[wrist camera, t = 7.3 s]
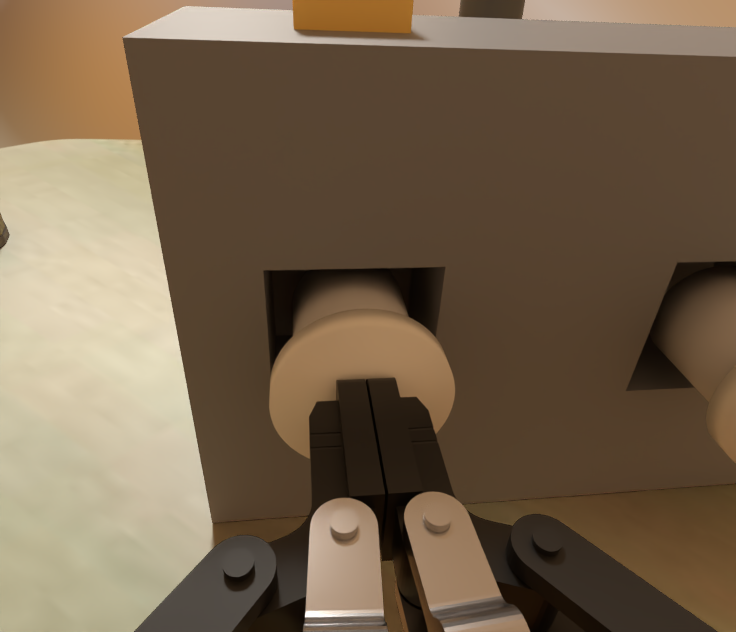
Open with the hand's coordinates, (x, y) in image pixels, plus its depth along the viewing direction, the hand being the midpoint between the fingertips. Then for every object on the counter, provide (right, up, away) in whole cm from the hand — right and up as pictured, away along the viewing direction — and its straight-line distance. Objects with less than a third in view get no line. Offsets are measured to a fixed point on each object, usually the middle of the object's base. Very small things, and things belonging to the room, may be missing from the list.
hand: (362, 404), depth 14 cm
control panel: (+5, -3, +11) cm, 12 cm away
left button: (0, -1, +3) cm, 3 cm away
